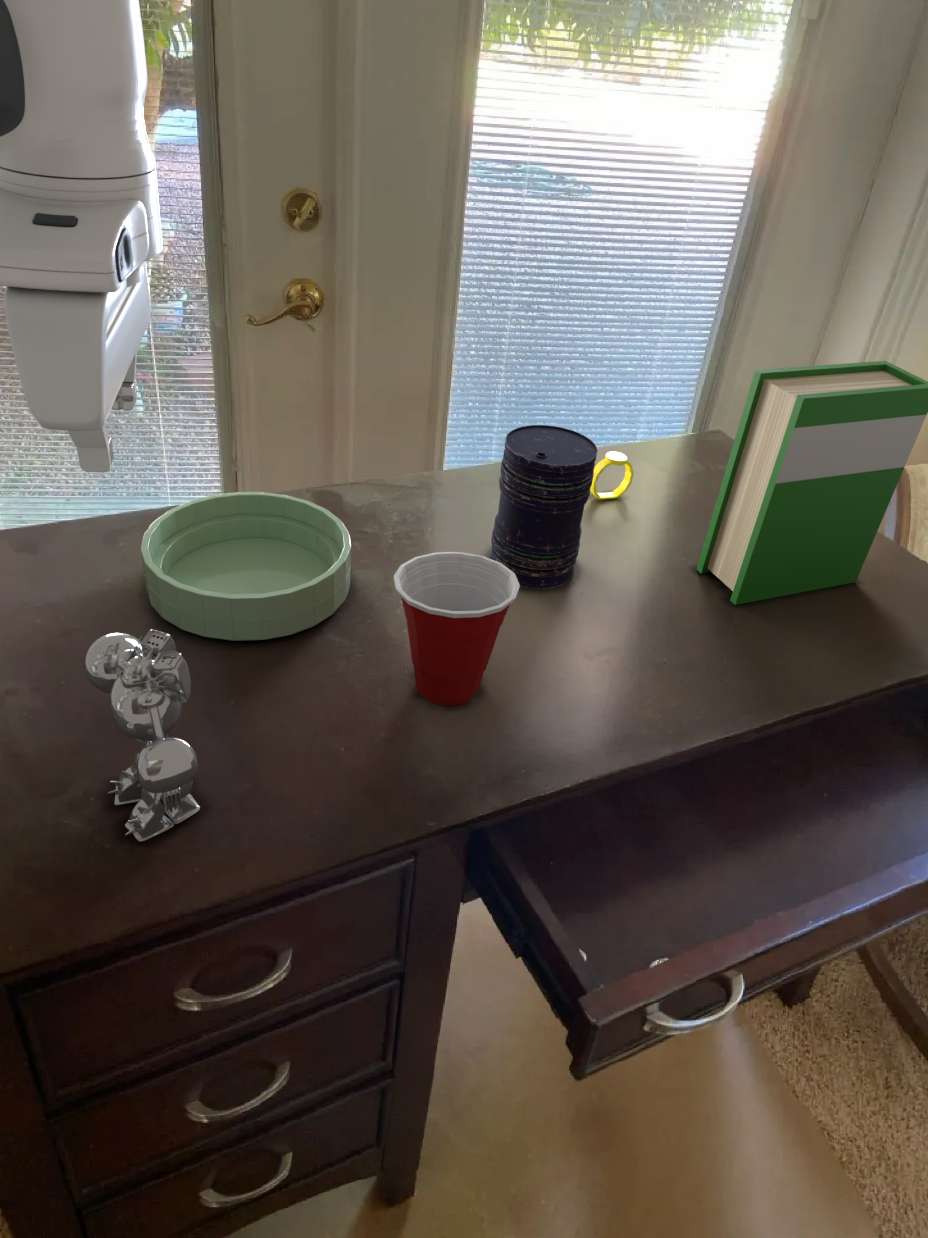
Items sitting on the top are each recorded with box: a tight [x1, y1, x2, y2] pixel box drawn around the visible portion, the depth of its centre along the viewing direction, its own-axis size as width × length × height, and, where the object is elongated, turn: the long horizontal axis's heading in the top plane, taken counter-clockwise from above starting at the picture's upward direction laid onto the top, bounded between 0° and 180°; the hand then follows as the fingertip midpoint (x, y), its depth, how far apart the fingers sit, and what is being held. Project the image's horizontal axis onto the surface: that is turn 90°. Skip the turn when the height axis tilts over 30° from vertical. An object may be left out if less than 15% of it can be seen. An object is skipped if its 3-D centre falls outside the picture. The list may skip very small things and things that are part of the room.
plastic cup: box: [393, 551, 521, 707], centre depth 79 cm, size 11×11×12 cm
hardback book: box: [696, 360, 928, 606], centre depth 97 cm, size 18×7×24 cm, turn 113°
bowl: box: [140, 491, 352, 642], centre depth 91 cm, size 20×20×6 cm
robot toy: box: [83, 628, 201, 843], centre depth 65 cm, size 15×6×15 cm, turn 33°
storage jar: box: [489, 424, 598, 590], centre depth 96 cm, size 10×10×15 cm
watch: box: [590, 451, 635, 501], centre depth 114 cm, size 6×3×6 cm, turn 115°
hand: (111, 434), depth 60 cm, fingers open, 8 cm apart
